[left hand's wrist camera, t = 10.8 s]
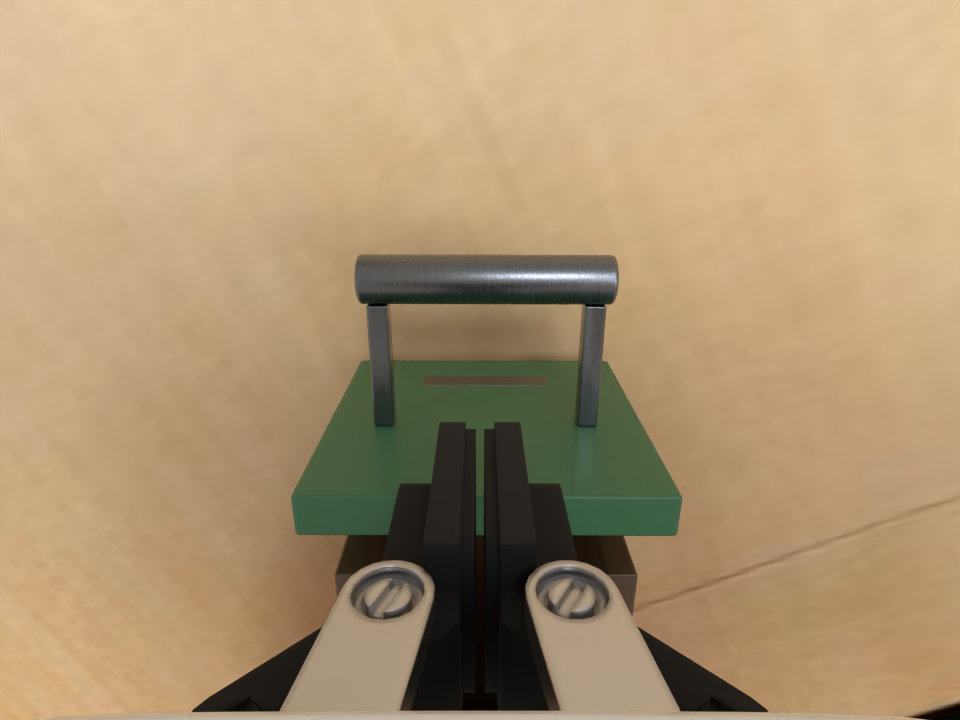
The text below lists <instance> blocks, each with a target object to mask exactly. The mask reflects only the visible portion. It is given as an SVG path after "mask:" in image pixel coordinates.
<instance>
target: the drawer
mask: <svg viewBox="0 0 960 720" xmlns="http://www.w3.org/2000/svg"><path fill="white" fill-rule="evenodd" d="M618 281H619V273H618V264H617V260H616V258H615V257H614V256H612V255H359V256H358V258H357V261H356V265H355V289H356V295H357V298H358V301H359V302H360V303H362V304H368V305H367V307H366V308H367V323H368V338H369V352H370V361H361V363H360V365H359V367H358V369H357V371H356V373H355V375H354V377H353V379H352V381H351V382H350V384H349V386H348V388H347V390H346V392H345V394H344V396H343V398H342V400H341V402H340V404H339V406H338V407H337V409H336V411H335V413H334V415H333V417H332V419H331V421H330V423H329V425H328V427H327V429H326V431H325V432H324V434H323V436H322V438H321V440H320V442H319V444H318V446H317V448H316V450H315V452H314V454H313V456H312V458H311V459H310V461H309V463H308V465H307V467H306V469H305V471H304V473H303V475H302V477H301V479H300V481H299V483H298V484H297V486H296V488H295V490H294V492H293V494H292V497H291V499H292V507H293V514H294V522H295V530H296V534H298V535H348V536H347V539H346V542H345V545H344V548H343V551H342V554H341V557H340V560H339V563H338V566H337V569H336V572H335V582H336V592H337V598H338V596H339V594H340V592H341V590H342V588H343V586H344V585H345V583H346V582H347V581H348V579H349V578H350V577H351V576H352V575H354V574H355V573H356V572H357V571H359V570H360V569H362V568H364V567H366V566H369V565H371V564H373V563H378V562H382V559H383V554H384V550H385V546H386V541H387V537H388V533H389V528H390V524H391V519H392V515H393V511H394V506H395V502H396V497H397V493H398V489H399V486H400V484H401V483H431V481H432V474H433V467H434V460H435V452H436V445H437V438H438V431H439V424H440V422H466V429H476V622H475V692H463V694H462V711H498V694H497V692H485V622H484V429H494V422H520V424H521V431H522V438H523V445H524V452H525V460H526V467H527V474H528V481H529V483H559V484H560V486H561V489H562V493H563V497H564V502H565V506H566V511H567V515H568V519H569V524H570V528H571V533H572V537H573V541H574V546H575V550H576V554H577V559H578V562H582V563H587V564H589V565H591V566H594V567H596V568H598V569H600V570H601V571H603V572H604V573H605V574H606V575H608V576H609V577H610V578H611V579H612V581H613V582H614V583H615V585H616V586H617V588H618V590H619V592H620V594H621V596H622V598H623V600H624V602H625V603H626V605H627V607H628V609H629V611H630V613H631V615H632V617H633V608H634V600H635V592H636V583H637V573H636V570H635V567H634V564H633V561H632V558H631V556H630V553H629V550H628V547H627V544H626V542H625V539H624V536H675V535H676V534H677V530H678V523H679V517H680V510H681V503H682V496H681V494H680V492H679V491H678V489H677V487H676V485H675V483H674V482H673V480H672V478H671V476H670V474H669V473H668V471H667V469H666V467H665V465H664V464H663V462H662V460H661V458H660V456H659V455H658V453H657V451H656V449H655V447H654V445H653V444H652V442H651V440H650V438H649V436H648V435H647V433H646V431H645V429H644V427H643V426H642V424H641V422H640V420H639V418H638V417H637V415H636V413H635V411H634V409H633V408H632V406H631V404H630V402H629V400H628V399H627V397H626V395H625V393H624V391H623V390H622V388H621V386H620V384H619V382H618V381H617V379H616V377H615V375H614V373H613V372H612V370H611V368H610V366H609V364H608V362H606V361H602V354H603V342H604V330H605V317H606V306H605V305H604V304H612V303H614V301H615V299H616V296H617V291H618ZM390 304H582V316H581V331H580V346H579V361H393V351H392V332H391V313H390Z"/></svg>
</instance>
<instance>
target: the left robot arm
mask: <svg viewBox="0 0 960 720" xmlns="http://www.w3.org/2000/svg"><path fill="white" fill-rule="evenodd" d="M475 622H476V429H466V422H440V424H439V431H438V438H437V445H436V452H435V460H434V467H433V474H432V481H431V483H401V484H400V486H399V489H398V493H397V497H396V502H395V506H394V511H393V515H392V519H391V524H390V528H389V533H388V537H387V541H386V546H385V550H384V554H383V559H382V562H378V563H373V564H371V565H369V566H366V567H364V568H362V569H360V570H359V571H357V572H356V573H355V574H354V575H352V576H351V577H350V578H349V579H348V581H347V582H346V583H345V585H344V586H343V588H342V590H341V592H340V594H339V596H338V598H337V600H336V602H335V603H334V605H333V607H332V609H331V611H330V613H329V615H328V617H327V619H326V621H325V623H324V625H323V627H321V628H320V629H318V630H316V631H315V632H313V633H312V634H310V635H308V636H307V637H305V638H304V639H302V640H300V641H299V642H297V643H296V644H294V645H292V646H291V647H289V648H288V649H286V650H284V651H283V652H281V653H280V654H278V655H276V656H275V657H273V658H271V659H270V660H268V661H267V662H265V663H263V664H262V665H260V666H259V667H257V668H255V669H254V670H252V671H251V672H249V673H247V674H246V675H244V676H243V677H241V678H239V679H238V680H236V681H235V682H233V683H231V684H230V685H228V686H227V687H225V688H223V689H222V690H220V691H218V692H217V693H215V694H214V695H212V696H210V697H209V698H208V699H206V700H205V701H204V702H202V703H201V704H200V705H199V706H197V707H196V708H195V709H194V710H193V711H192V712H160V713H130V714H107V715H84V716H62V717H53V718H45V719H36V720H924V719H915V718H907V717H898V716H875V715H852V714H830V713H789V712H787V713H777V712H768V711H767V710H766V709H765V708H764V707H763V706H761V705H760V704H759V703H758V702H756V701H755V700H754V699H752V698H751V697H750V696H748V695H746V694H745V693H743V692H742V691H740V690H738V689H737V688H735V687H733V686H732V685H730V684H729V683H727V682H725V681H724V680H722V679H721V678H719V677H717V676H716V675H714V674H713V673H711V672H709V671H708V670H706V669H705V668H703V667H701V666H700V665H698V664H697V663H695V662H693V661H692V660H690V659H689V658H687V657H685V656H684V655H682V654H680V653H679V652H677V651H676V650H674V649H672V648H671V647H669V646H668V645H666V644H664V643H663V642H661V641H660V640H658V639H656V638H655V637H653V636H652V635H650V634H648V633H647V632H645V631H644V630H642V629H640V628H639V627H637V625H636V623H635V621H634V619H633V617H632V615H631V613H630V611H629V609H628V607H627V605H626V603H625V602H624V600H623V598H622V596H621V594H620V592H619V590H618V588H617V586H616V585H615V583H614V582H613V581H612V579H611V578H610V577H609V576H608V575H606V574H605V573H604V572H603V571H601V570H600V569H598V568H596V567H594V566H591V565H589V564H587V563H582V562H578V559H577V554H576V550H575V546H574V541H573V537H572V533H571V528H570V524H569V519H568V515H567V511H566V506H565V502H564V497H563V493H562V489H561V486H560V484H559V483H529V481H528V474H527V467H526V460H525V452H524V445H523V438H522V431H521V424H520V422H494V429H484V622H485V692H497V694H498V711H462V694H463V692H475Z"/></svg>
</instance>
